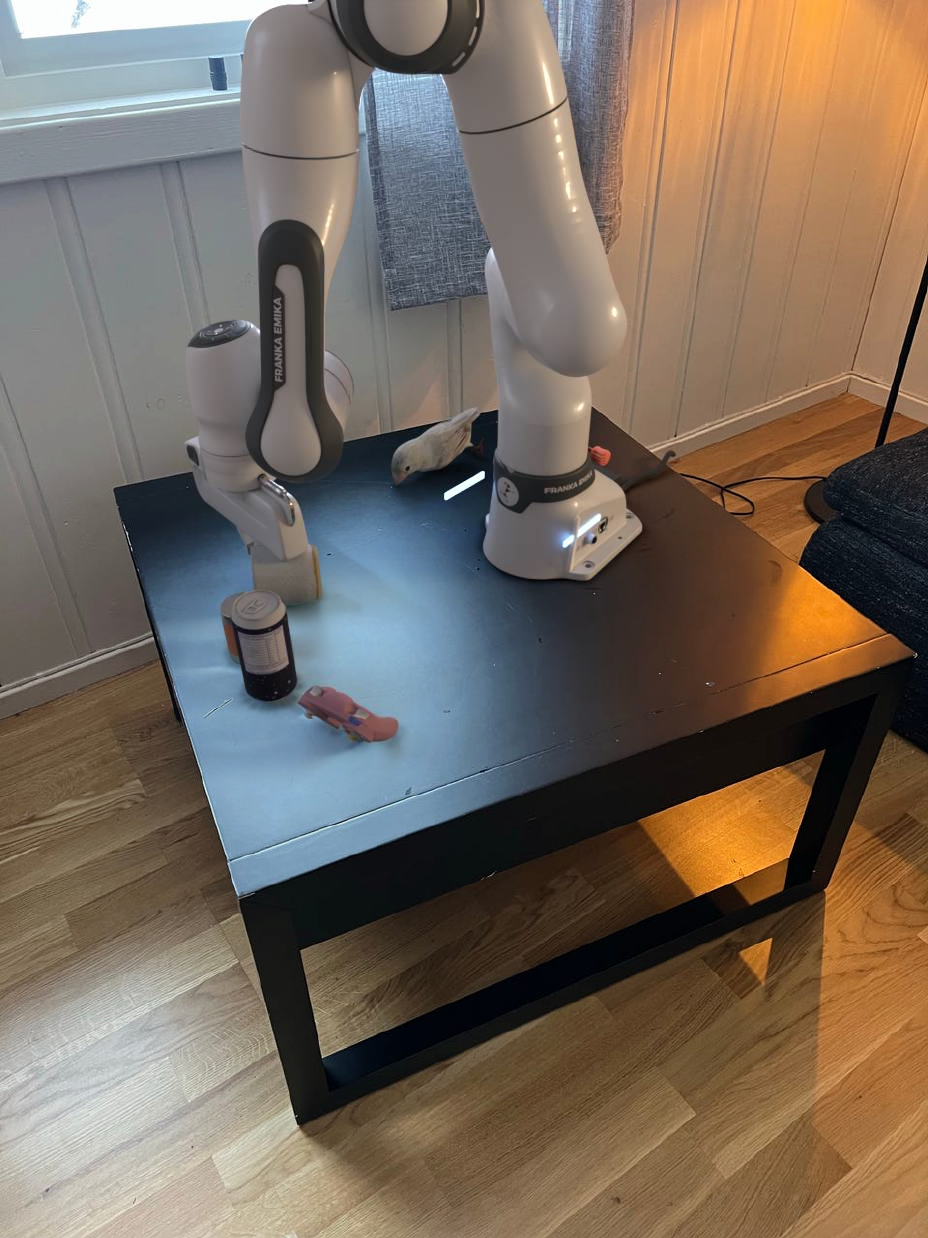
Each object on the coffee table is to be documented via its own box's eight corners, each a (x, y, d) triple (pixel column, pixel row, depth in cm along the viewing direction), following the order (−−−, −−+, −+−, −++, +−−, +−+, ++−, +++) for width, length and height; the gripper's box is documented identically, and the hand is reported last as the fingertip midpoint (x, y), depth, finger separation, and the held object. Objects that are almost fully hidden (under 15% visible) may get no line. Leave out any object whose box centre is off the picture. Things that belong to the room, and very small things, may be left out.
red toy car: (310, 726, 100) (283, 701, 94) (333, 690, 102) (307, 663, 96) (383, 764, 96) (359, 740, 90) (405, 726, 98) (384, 700, 92)
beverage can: (308, 683, 103) (296, 597, 96) (275, 714, 100) (260, 627, 92) (269, 666, 106) (253, 581, 98) (235, 695, 102) (216, 609, 94)
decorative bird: (383, 479, 138) (380, 433, 133) (466, 445, 146) (466, 400, 141) (405, 493, 135) (402, 447, 130) (489, 458, 143) (489, 413, 138)
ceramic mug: (326, 612, 113) (319, 560, 108) (258, 621, 112) (248, 569, 107) (317, 564, 121) (311, 513, 117) (253, 572, 120) (244, 521, 115)
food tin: (256, 634, 110) (247, 586, 106) (278, 653, 107) (270, 605, 103) (221, 651, 108) (211, 604, 103) (243, 672, 105) (233, 624, 101)
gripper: (314, 484, 105) (326, 582, 114) (221, 422, 117) (238, 515, 126) (266, 504, 102) (282, 604, 111) (176, 438, 114) (196, 532, 123)
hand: (258, 556), depth 119 cm, fingers closed
